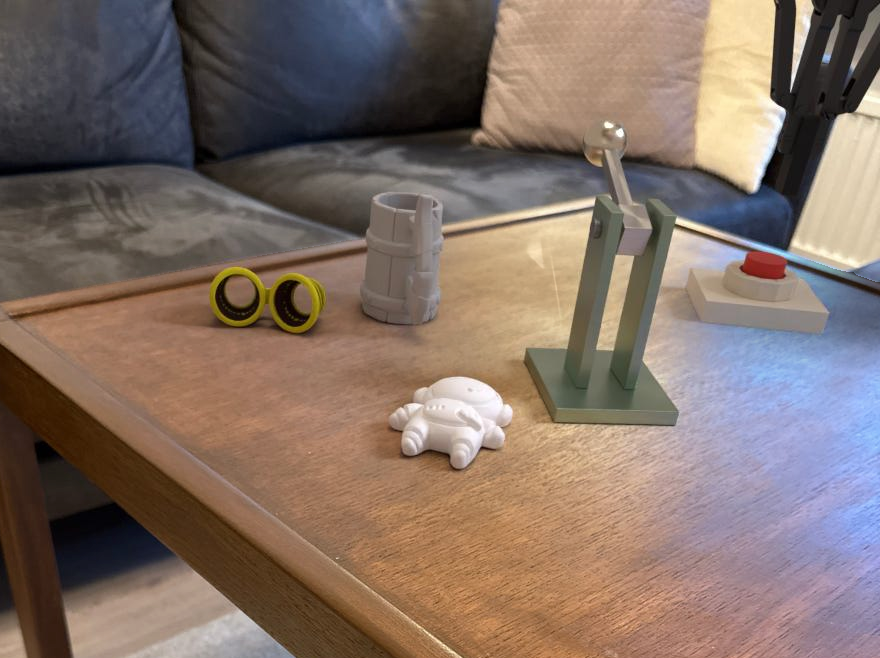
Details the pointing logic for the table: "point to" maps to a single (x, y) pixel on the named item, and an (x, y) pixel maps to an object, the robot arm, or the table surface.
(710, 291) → the box
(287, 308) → the opera glasses
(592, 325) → the bracket
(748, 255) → the button
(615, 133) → the lever
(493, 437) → the astronaut figurine
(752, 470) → the table surface
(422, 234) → the mug
